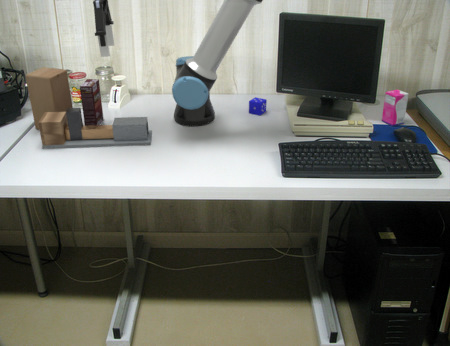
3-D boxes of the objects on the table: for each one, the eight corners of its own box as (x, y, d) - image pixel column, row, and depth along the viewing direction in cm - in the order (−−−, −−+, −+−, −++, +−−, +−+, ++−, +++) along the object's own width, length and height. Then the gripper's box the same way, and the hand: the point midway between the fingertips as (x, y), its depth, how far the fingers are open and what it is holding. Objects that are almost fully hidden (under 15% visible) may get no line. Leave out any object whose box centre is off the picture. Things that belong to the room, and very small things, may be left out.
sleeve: (148, 132, 172) (147, 116, 170) (147, 140, 166) (146, 124, 164) (116, 133, 172) (114, 117, 169) (114, 141, 166) (112, 125, 163)
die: (248, 113, 191) (248, 100, 188) (254, 109, 195) (255, 97, 192) (260, 115, 188) (260, 103, 186) (266, 111, 192) (266, 99, 190)
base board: (152, 133, 174) (151, 130, 174) (150, 145, 166) (150, 142, 165) (49, 136, 172) (49, 133, 172) (42, 148, 163) (42, 145, 163)
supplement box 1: (98, 129, 177) (92, 86, 169) (84, 129, 177) (78, 86, 170) (104, 120, 185) (99, 78, 177) (91, 120, 185) (86, 78, 177)
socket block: (69, 133, 172) (66, 111, 168) (64, 144, 164) (60, 121, 160) (49, 134, 171) (45, 112, 167) (42, 145, 163) (38, 122, 160)
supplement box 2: (392, 118, 186) (397, 88, 180) (404, 123, 181) (409, 93, 176) (380, 120, 184) (385, 91, 178) (391, 126, 179) (397, 96, 174)
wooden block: (75, 122, 183) (67, 69, 173) (59, 133, 174) (49, 77, 165) (52, 119, 186) (43, 66, 176) (35, 129, 177) (24, 74, 168)
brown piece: (118, 134, 170) (115, 106, 165) (117, 138, 167) (114, 110, 162) (53, 136, 169) (48, 108, 164) (50, 140, 166) (45, 112, 161)
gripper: (90, -25, 161) (100, 42, 171) (78, -13, 139) (90, 62, 149) (114, -26, 161) (122, 40, 171) (105, -15, 139) (115, 60, 150)
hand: (107, 50), depth 160 cm, fingers open, 13 cm apart
